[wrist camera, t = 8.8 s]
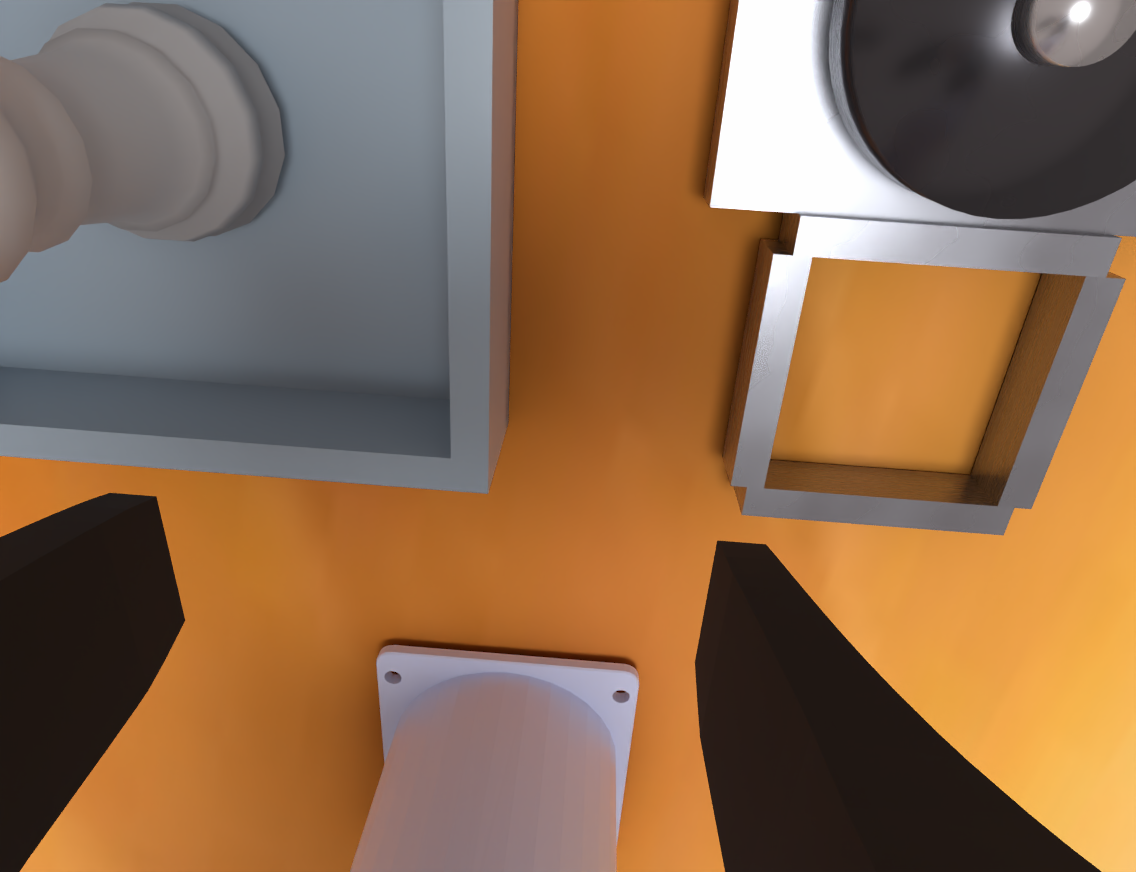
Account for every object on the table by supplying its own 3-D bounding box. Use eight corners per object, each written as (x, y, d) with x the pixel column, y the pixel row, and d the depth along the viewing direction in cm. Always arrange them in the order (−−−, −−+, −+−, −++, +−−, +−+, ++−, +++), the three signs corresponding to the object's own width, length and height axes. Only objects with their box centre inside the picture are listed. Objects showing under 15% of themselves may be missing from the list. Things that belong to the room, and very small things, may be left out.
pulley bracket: (1045, 507, 19) (1132, 596, 16) (664, 478, 19) (675, 560, 16) (1347, -209, 13) (1597, -300, 9) (763, -242, 13) (814, -342, 10)
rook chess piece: (36, 84, 15) (-462, 105, 8) (189, -49, 14) (-239, -159, 7) (187, 268, 17) (-119, 418, 10) (336, 164, 16) (110, 250, 9)
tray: (508, 422, 19) (487, 493, 16) (-8, 383, 19) (-127, 445, 16) (524, -278, 13) (496, -388, 10) (-237, -320, 13) (-503, -440, 10)
